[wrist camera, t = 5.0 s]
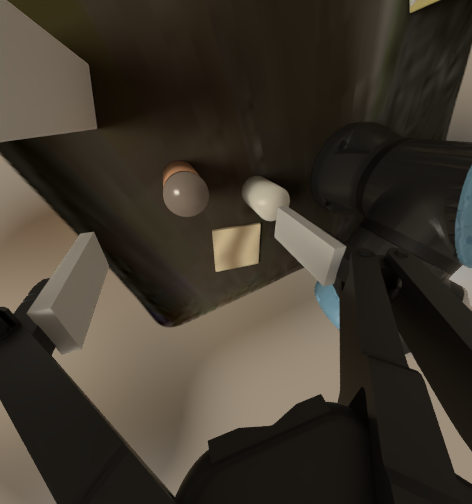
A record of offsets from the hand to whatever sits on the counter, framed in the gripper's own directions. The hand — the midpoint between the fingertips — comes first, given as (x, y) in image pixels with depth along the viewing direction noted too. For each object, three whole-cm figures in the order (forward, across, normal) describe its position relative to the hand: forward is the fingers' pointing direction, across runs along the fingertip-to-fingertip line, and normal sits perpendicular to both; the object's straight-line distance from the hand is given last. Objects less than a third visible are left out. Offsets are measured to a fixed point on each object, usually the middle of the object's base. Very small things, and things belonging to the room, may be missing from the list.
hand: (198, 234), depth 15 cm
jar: (+18, 0, 0) cm, 18 cm away
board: (+18, -9, +14) cm, 24 cm away
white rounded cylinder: (+18, -12, +3) cm, 22 cm away
